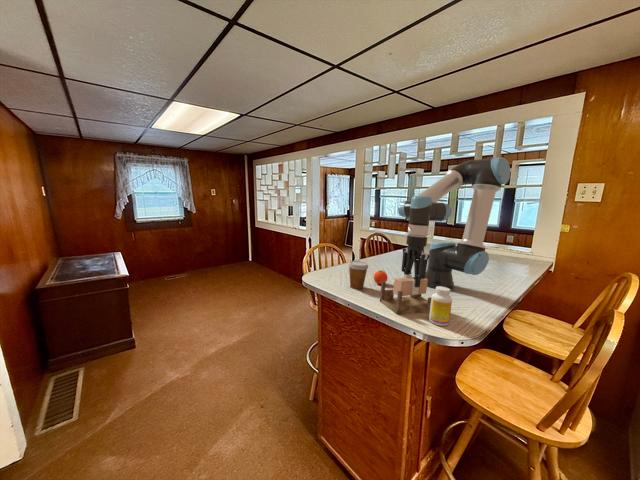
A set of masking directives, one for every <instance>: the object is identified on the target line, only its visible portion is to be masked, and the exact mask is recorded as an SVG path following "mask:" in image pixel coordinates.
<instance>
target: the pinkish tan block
mask: <svg viewBox="0 0 640 480" xmlns="http://www.w3.org/2000/svg"><path fill="white" fill-rule="evenodd" d="M413 278H415V276H413V277H409V278H404V277H400V278H399V277H398V278H394V283H393V293H394V294H395V296H398V291H402V292H403V293H402V297H409V296H410V295H412V294H411V291H412V283H413ZM427 282H428V279H426V278H425V279H421V280H420V287H419V290H418V294H421V295H424V294H427V288H428V286H427Z"/></svg>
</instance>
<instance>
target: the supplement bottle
mask: <svg viewBox="0 0 640 480" xmlns="http://www.w3.org/2000/svg"><path fill="white" fill-rule="evenodd" d="M450 293H451V289H449V288H446V287H442V286H437V287H436V288H435V292H434V293H433V294H432V295H431V297H432V298H431V297H430V298H431V306H430V312H429V316H428V320H429V322H430V323H431V324H433V325H435V326H439V327H446V326H448V325H449V324H450V317H451V311H452V303H453V299H452V297H451V295H450Z"/></svg>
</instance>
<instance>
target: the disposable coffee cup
mask: <svg viewBox="0 0 640 480" xmlns="http://www.w3.org/2000/svg"><path fill="white" fill-rule="evenodd" d="M368 264H369V263H367V262H364V261H360V260H352V261H350V262H349V263H348V265H347V266H348V270H349V272H348V273H349V286H350V288H352V289H354V290H362V289H364V285H365V279H366V275H367V272H368V271H367V270H368V268H369V265H368Z"/></svg>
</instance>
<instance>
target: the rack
mask: <svg viewBox="0 0 640 480" xmlns="http://www.w3.org/2000/svg"><path fill="white" fill-rule="evenodd" d="M386 283H387V281H386V282H385V281H382V283H381V284H380V292H379V293H380V294H379V295H380V296H379V302H380V303H381V304H382V305H383V306H385V307H387V309H389V310H391V311H392V312H393V313H394V314H396V315H399V316H400V315H408V314H417V313H418V314H419V313H430V306H431V298H432V296H431V297H427V299H426V298H425V297H422V294H417V295H408V296H402V293H403V292H402V291H398V295H396V296H397V297H394V293H393V289H394V288H393V289H386Z"/></svg>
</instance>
